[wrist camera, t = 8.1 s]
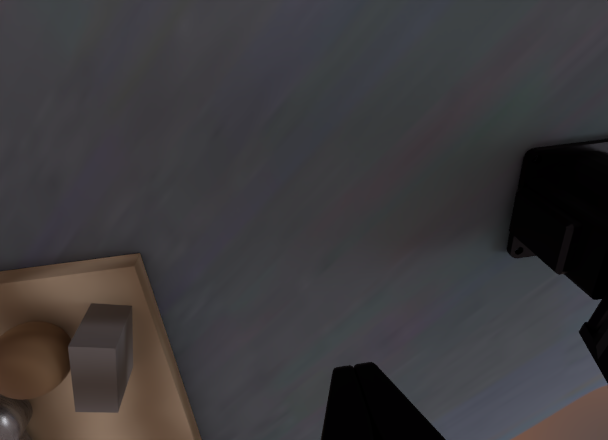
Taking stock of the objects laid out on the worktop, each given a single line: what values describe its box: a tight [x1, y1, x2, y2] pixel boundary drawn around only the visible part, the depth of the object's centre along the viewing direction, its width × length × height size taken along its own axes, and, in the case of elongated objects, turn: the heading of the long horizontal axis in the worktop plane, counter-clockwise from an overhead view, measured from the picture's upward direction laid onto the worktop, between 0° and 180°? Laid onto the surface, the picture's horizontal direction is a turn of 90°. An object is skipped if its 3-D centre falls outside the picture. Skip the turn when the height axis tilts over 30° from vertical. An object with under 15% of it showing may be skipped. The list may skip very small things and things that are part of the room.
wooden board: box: [0, 253, 202, 440], centre depth 24 cm, size 15×20×4 cm
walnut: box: [0, 321, 71, 400], centre depth 20 cm, size 4×4×4 cm
